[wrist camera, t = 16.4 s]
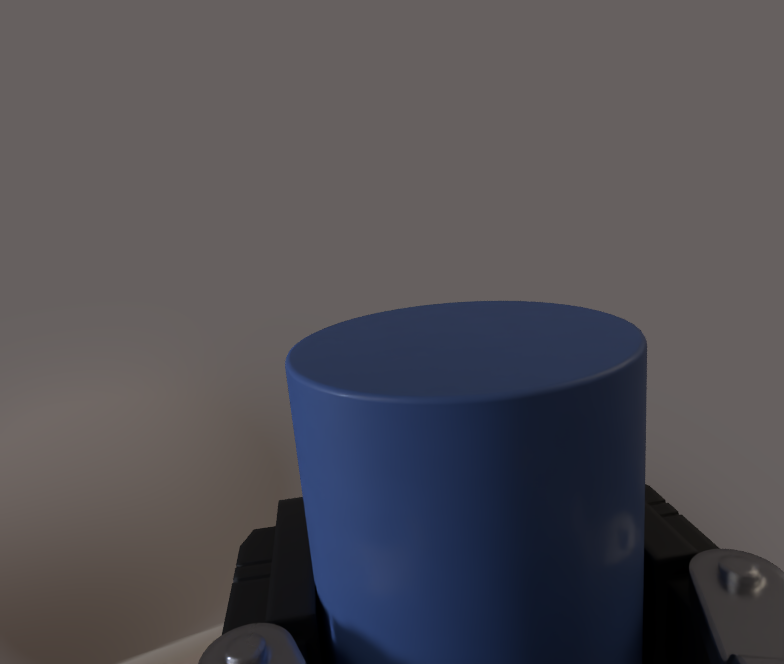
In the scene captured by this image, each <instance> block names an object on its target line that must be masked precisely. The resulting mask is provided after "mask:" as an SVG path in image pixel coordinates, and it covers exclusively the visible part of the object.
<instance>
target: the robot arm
mask: <svg viewBox="0 0 784 664" xmlns="http://www.w3.org/2000/svg"><path fill="white" fill-rule="evenodd" d="M236 566H237V568H235V573H234V578H233V583H232V588H231V593H230V598H229V602H228V607H227V613H226V617H225V622H224V627H223V632H222V636H220V637H219V638H218V639H216V640H215V641H214V642H213V643H212V644H211V645H210V646H209V647H208V648H207V649H206V650H205V652H204V653H203V655H202V656H201V658H200V660H199V663H198V664H326V659H325V652H324V645H323V637H322V630H321V623H320V616H319V608H318V601H317V594H316V586H315V581H314V574H313V567H312V560H311V552H310V545H309V538H308V530H307V523H306V516H305V508H304V501H303V497H299V498H293V499H285V500H279V503H278V513H277V521H276V526H275V527H268V528H261V529H255V530H253V531H252V533H251V534H250V535H249V536H248V538H247V539H246V540H245V541H244V542H243V543H242V545H241V546H240V549H239V554H238V559H237V564H236ZM642 664H784V572H783V571H782V570H781V569H780V568H778V567H777V566H776V565H774V564H773V563H771V562H769V561H768V560H766V559H763V558H761V557H759V556H756V555H754V554H751V553H747V552H743V551H738V550H732V549H720V548H718V547H717V546H716V545H715V544H714V543H713V542H712V541H711V540H710V539H708V538H707V537H706V536H705V535H704V534H703V533H702V532H701V531H699V530H698V529H697V528H696V527H695V526H694V525H693V524H691V523H690V522H689V521H688V520H687V519H686V518H685V517H684V516H683V515H679V513H678V511H677V510H676V509H675V508H674V507H673V506H671V505H670V504H669V503H666V502H665V499H663V498H662V497H661V496H660V495H659V494H658V493H657V492H656V491H655V490H653V489H652V488H651V487H650V486H648V485H646V484H645V519H644V588H643V657H642Z"/></svg>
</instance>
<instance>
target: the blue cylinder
mask: <svg viewBox="0 0 784 664" xmlns="http://www.w3.org/2000/svg"><path fill="white" fill-rule="evenodd" d="M285 363H286V364H285V368H286V375H287V383H288V391H289V398H290V405H291V412H292V420H293V427H294V435H295V442H296V449H297V456H298V464H299V472H300V479H301V486H302V494H303V501H304V508H305V516H306V523H307V530H308V538H309V545H310V552H311V560H312V567H313V574H314V581H315V586H316V594H317V601H318V608H319V616H320V623H321V630H322V637H323V645H324V652H325V659H326V664H642V657H643V588H644V519H645V450H646V446H645V445H646V444H645V443H646V382H647V381H646V379H647V343H646V339H645V337H644V335H643V334H642V332H641V330H640V329H638V328H637V327H636V326H635V325H634V324H632V323H630V322H628V321H626V320H624V319H622V318H619V317H616V316H614V315H611V314H608V313H604V312H601V311H597V310H592V309H588V308H583V307H577V306H570V305H563V304H554V303H543V302H526V301H475V302H457V303H444V304H433V305H424V306H416V307H409V308H403V309H396V310H391V311H385V312H380V313H375V314H371V315H366V316H362V317H358V318H354V319H351V320H347V321H344V322H341V323H338V324H335V325H332V326H330V327H327V328H324V329H322V330H320V331H318V332H316V333H313V334H311V335H310V336H308V337H306V338H304V339H303V340H301V341H300V342H298V343H297V344H296V345H295V346H294V347H293V348H292V349H291V350H290V351H289V353H288V355H287V357H286V361H285Z"/></svg>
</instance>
